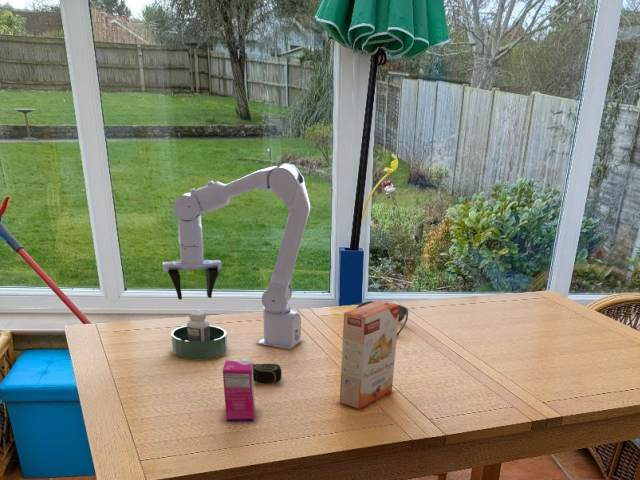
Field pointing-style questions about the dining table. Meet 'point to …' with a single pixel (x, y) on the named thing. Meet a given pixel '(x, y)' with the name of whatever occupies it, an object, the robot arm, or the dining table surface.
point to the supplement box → (239, 390)
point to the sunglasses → (402, 313)
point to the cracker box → (368, 353)
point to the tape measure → (266, 373)
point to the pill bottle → (198, 326)
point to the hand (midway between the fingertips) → (194, 297)
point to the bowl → (199, 344)
